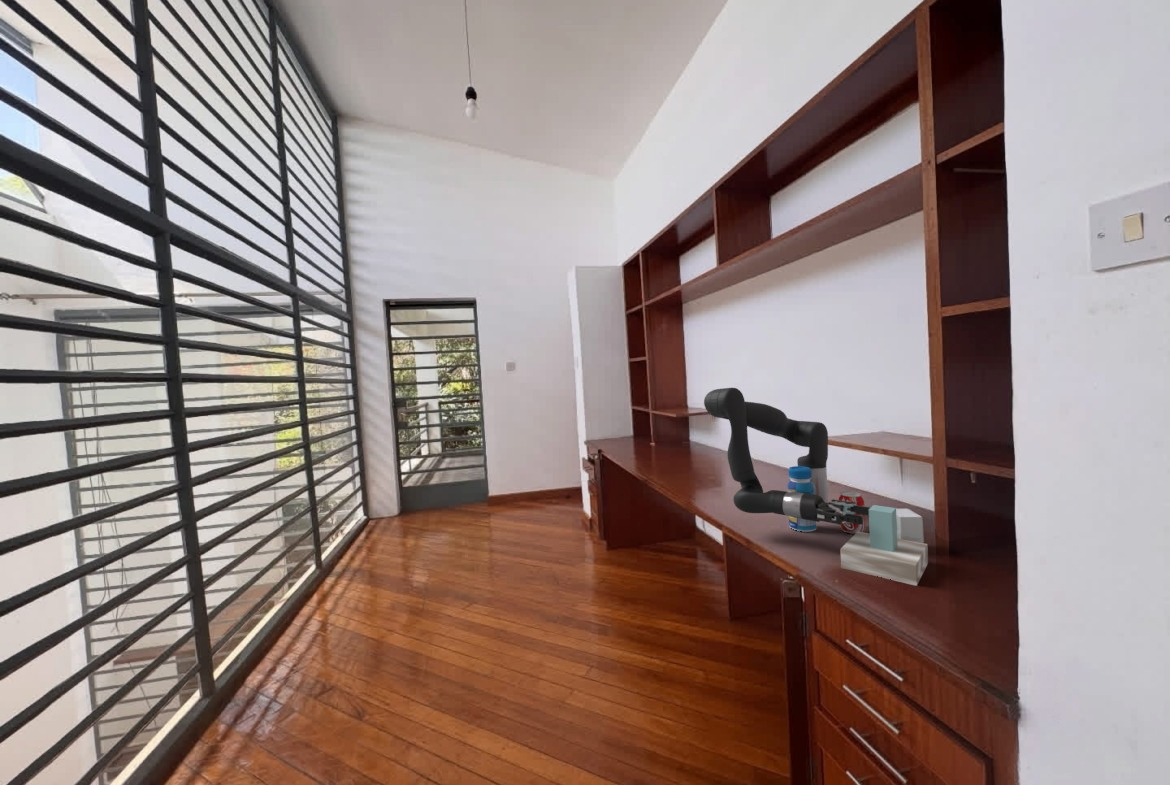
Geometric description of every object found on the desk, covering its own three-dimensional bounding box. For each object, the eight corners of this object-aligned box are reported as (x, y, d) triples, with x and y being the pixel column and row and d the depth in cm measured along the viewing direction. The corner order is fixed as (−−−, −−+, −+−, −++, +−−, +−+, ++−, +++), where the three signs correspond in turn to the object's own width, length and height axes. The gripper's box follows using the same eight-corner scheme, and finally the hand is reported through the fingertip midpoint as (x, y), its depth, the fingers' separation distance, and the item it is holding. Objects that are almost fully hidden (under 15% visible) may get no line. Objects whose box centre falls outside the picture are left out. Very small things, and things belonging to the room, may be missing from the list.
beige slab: (858, 548, 126) (857, 531, 126) (928, 562, 115) (927, 544, 115) (841, 567, 115) (840, 549, 115) (916, 585, 104) (915, 565, 103)
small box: (924, 555, 120) (923, 517, 119) (901, 554, 121) (900, 516, 120) (909, 543, 127) (907, 508, 127) (887, 543, 128) (886, 508, 128)
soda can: (836, 531, 140) (834, 494, 140) (844, 525, 145) (842, 489, 144) (861, 536, 135) (859, 498, 134) (868, 530, 139) (867, 492, 139)
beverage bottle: (810, 534, 139) (807, 472, 138) (784, 528, 145) (780, 469, 145) (821, 527, 144) (818, 467, 144) (795, 522, 151) (792, 464, 150)
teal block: (875, 541, 118) (873, 504, 118) (897, 545, 115) (896, 508, 114) (870, 547, 115) (868, 509, 115) (893, 552, 111) (891, 513, 111)
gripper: (793, 499, 124) (859, 508, 112) (810, 487, 134) (873, 495, 122) (794, 525, 124) (860, 537, 112) (812, 512, 134) (874, 522, 122)
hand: (867, 515), depth 117 cm, fingers open, 8 cm apart
